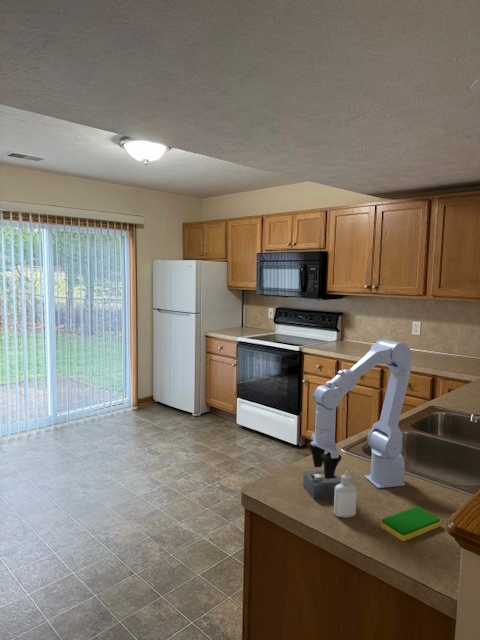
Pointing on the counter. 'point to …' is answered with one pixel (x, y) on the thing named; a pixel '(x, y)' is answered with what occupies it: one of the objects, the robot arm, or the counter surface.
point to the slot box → (320, 484)
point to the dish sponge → (410, 523)
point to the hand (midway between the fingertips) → (323, 472)
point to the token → (319, 476)
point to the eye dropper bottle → (345, 497)
